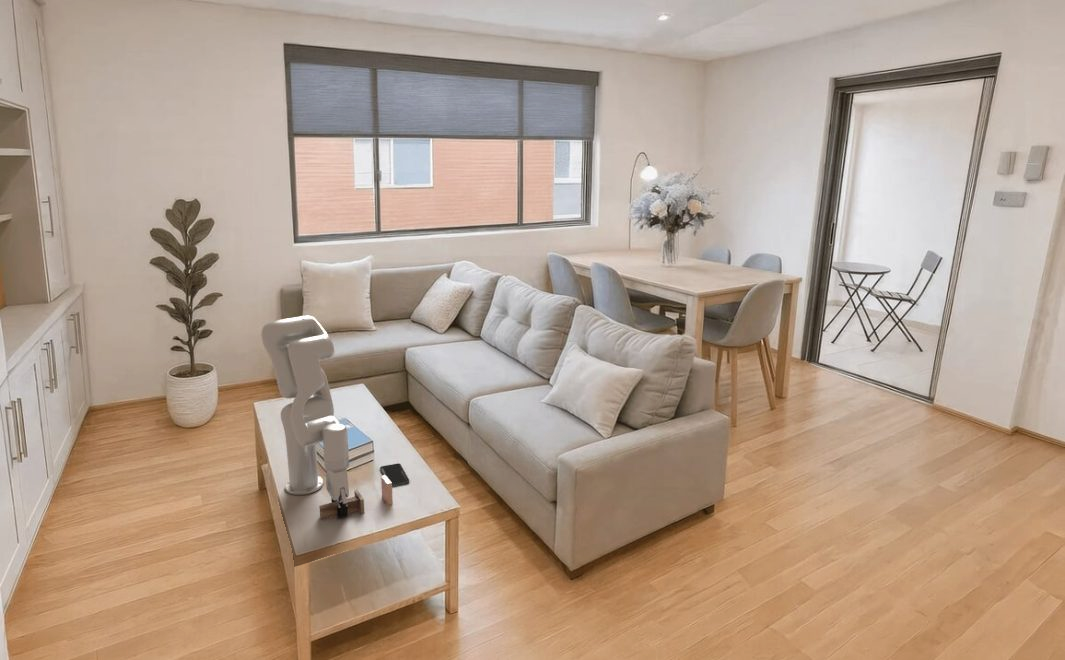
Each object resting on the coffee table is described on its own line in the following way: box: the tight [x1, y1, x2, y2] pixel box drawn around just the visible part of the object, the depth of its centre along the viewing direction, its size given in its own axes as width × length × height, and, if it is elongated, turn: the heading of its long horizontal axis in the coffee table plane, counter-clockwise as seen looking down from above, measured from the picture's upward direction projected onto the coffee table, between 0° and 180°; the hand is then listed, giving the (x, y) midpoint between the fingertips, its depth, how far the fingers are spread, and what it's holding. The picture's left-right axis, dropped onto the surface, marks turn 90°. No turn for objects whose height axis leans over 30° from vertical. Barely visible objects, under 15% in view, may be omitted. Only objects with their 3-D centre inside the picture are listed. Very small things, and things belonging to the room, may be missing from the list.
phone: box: [379, 463, 410, 488], centre depth 229 cm, size 8×1×15 cm
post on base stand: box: [318, 489, 365, 521], centre depth 204 cm, size 7×13×5 cm, turn 122°
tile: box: [380, 475, 394, 506], centre depth 211 cm, size 6×2×8 cm, turn 32°
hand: (339, 511), depth 204 cm, fingers open, 5 cm apart
